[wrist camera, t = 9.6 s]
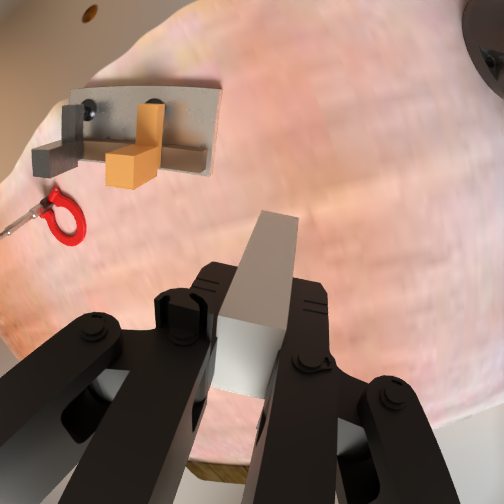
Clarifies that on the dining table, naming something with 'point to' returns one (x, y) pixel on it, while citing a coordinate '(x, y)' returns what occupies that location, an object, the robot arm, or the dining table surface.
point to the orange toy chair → (138, 151)
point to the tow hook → (53, 218)
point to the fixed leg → (62, 145)
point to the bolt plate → (174, 125)
